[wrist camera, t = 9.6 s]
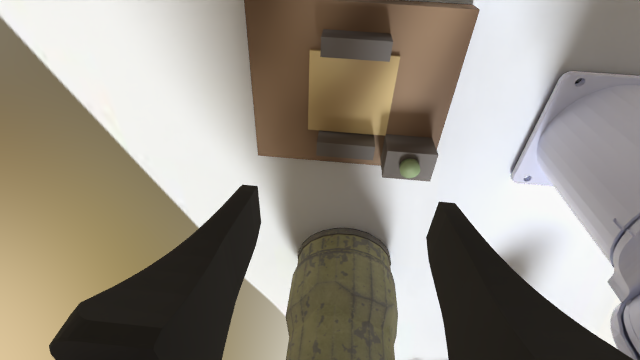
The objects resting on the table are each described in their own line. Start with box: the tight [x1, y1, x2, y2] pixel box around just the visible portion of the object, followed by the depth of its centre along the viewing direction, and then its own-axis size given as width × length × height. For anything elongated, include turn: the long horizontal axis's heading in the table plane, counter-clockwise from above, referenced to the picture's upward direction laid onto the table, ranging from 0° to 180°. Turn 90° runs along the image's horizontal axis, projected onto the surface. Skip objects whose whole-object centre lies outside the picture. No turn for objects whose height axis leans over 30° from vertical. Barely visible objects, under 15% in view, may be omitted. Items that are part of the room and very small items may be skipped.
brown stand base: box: [244, 0, 479, 181], centre depth 20 cm, size 12×10×4 cm
